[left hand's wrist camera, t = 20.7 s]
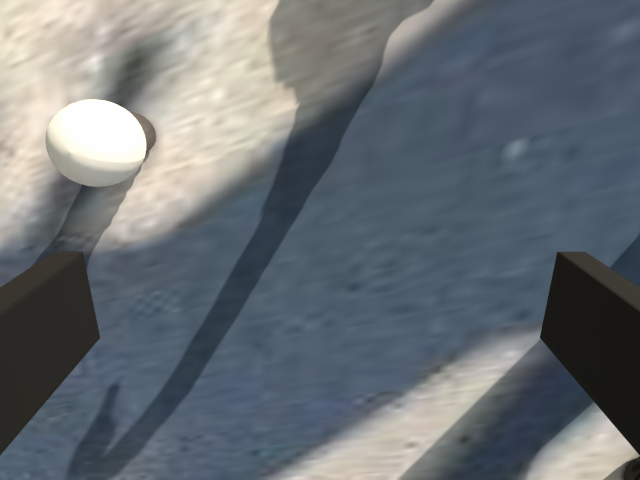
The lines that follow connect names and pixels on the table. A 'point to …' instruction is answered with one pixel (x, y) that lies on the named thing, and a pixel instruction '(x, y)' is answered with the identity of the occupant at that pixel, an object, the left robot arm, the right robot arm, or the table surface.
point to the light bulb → (98, 142)
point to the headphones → (633, 470)
